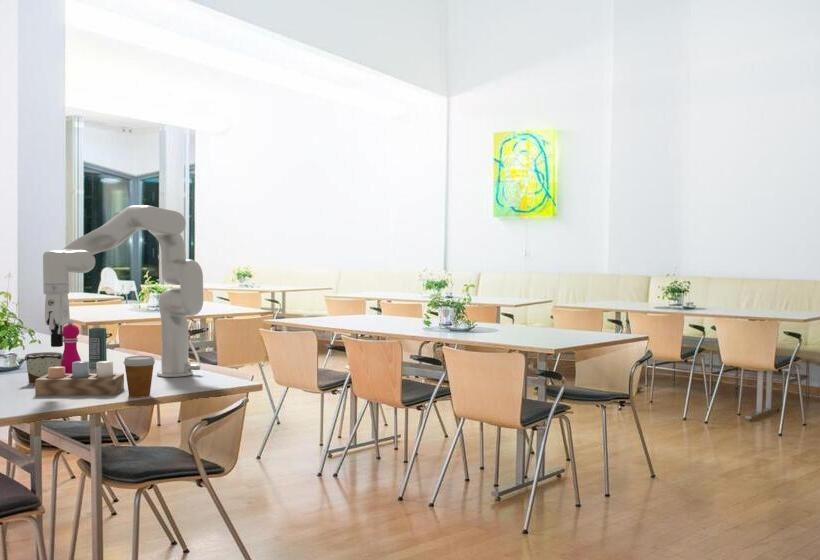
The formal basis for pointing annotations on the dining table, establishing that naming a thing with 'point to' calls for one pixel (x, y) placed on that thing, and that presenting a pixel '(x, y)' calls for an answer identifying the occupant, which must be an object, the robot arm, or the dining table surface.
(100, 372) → the white egg
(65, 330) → the pepper mill
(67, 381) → the wooden egg rack
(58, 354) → the food container
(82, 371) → the slate egg
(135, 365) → the disposable coffee cup
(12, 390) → the dining table surface
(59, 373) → the terracotta egg
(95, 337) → the dark green cylinder
